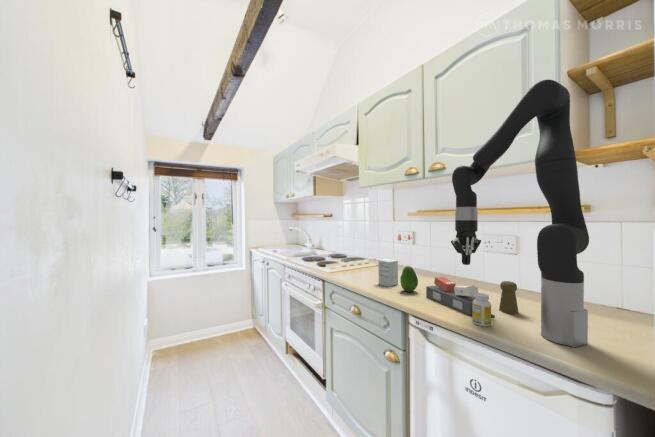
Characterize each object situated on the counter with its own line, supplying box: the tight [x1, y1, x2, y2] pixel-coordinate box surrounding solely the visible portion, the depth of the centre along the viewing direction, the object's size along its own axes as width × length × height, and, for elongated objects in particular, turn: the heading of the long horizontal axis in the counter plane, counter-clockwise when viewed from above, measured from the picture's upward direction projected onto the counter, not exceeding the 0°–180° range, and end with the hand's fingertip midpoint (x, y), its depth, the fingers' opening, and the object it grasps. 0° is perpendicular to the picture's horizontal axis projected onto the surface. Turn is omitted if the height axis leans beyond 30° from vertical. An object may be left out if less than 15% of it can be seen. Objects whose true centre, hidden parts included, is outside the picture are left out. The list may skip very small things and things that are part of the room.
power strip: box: [425, 284, 496, 320], centre depth 104 cm, size 29×8×5 cm, turn 19°
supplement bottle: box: [471, 292, 492, 327], centre depth 88 cm, size 5×5×10 cm
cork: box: [498, 280, 519, 315], centre depth 99 cm, size 6×6×11 cm
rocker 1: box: [433, 276, 457, 291], centre depth 111 cm, size 7×5×3 cm
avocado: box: [399, 265, 419, 292], centre depth 125 cm, size 8×8×12 cm
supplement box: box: [377, 258, 399, 287], centre depth 138 cm, size 7×7×13 cm
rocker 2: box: [454, 285, 479, 296], centre depth 101 cm, size 7×5×3 cm
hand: (466, 264), depth 101 cm, fingers closed
